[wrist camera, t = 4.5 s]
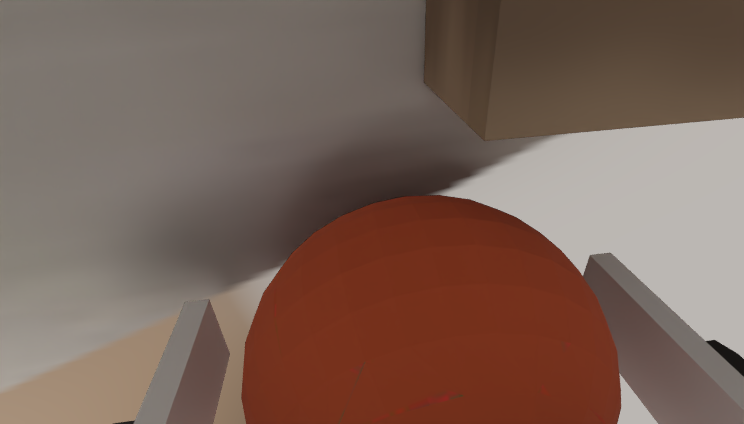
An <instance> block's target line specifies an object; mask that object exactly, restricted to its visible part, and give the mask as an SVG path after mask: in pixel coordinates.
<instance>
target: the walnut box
mask: <svg viewBox="0 0 744 424" xmlns="http://www.w3.org/2000/svg"><path fill="white" fill-rule="evenodd" d="M424 83H425V84H426V85H427V86H428V87H429V88H430V89H431V90H432V91H433V92H434V93H435V94H436V95H437V96H438V97H439V98H441V99H442V100H443V101H444V102H445V103H446V104H447V105H448V106H449V107H450V108H451V109H452V110H453V111H454V112H455V113H456V114H457V115H458V116H459V117H460V118H461V119H462V120H463V121H464V122H465V123H466V124H467V125H468V126H469V127H470V128H472V129H473V130H474V131H475V132H476V133H477V134H478V135H479V136H480V137H481V138H482V139H483V140H484V141H489V140H501V139H512V138H523V137H534V136H545V135H556V134H567V133H578V132H589V131H600V130H611V129H622V128H633V127H645V126H655V125H666V124H678V123H689V122H700V121H711V120H722V119H733V118H744V0H426V25H425V64H424Z"/></svg>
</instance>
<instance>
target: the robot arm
mask: <svg viewBox="0 0 744 424" xmlns="http://www.w3.org/2000/svg"><path fill="white" fill-rule="evenodd" d="M583 277H584V279H585V280H586V282H587V283H588V285H589V286H590V288H591V289H592V291H593V292H594V294H595V295H596V297H597V299H598V301H599V304H600V306H601V308H602V311H603V313H604V316H605V318H606V321H607V324H608V326H609V329H610V332H611V335H612V338H613V340H614V343H615V346H616V349H617V354H618V365H619V373H620V374H621V376H622V377H623V378H624V379H625V381H626V382H627V383H628V385H629V386H630V387H631V389H632V390H633V391H634V393H635V394H636V395H637V396H638V398H639V399H640V400H641V402H642V403H643V404H644V406H645V407H646V408H647V409H648V411H649V412H650V413H651V415H652V416H653V417H654V419H655V420H656V421H657V422H658V424H744V359H743V358H742V357H741V356H740V355H738V354H737V353H736V352H734V351H732V350H730V349H729V348H727V347H726V346H724V345H722V344H721V343H719V342H717V341H716V340H711V341H705V340H704V339H702V338H701V337H700V336H699V335H698V334H697V333H696V332H695V331H694V330H693V329H692V328H691V327H690V326H689V325H687V324H686V323H685V322H684V321H683V320H682V319H681V318H680V317H679V316H678V315H677V314H676V313H675V312H674V311H672V310H671V309H670V308H669V307H668V306H667V305H666V304H665V303H664V302H663V301H662V300H661V299H660V298H658V297H657V296H656V295H655V294H654V293H653V292H652V291H651V290H650V289H649V288H648V287H647V286H646V285H644V284H643V283H642V282H641V281H640V280H639V279H638V278H637V277H636V276H635V275H634V274H633V273H632V272H631V271H629V270H628V269H627V268H626V267H625V266H624V265H623V264H622V263H621V262H620V261H619V260H618V259H617V258H616V257H615V256H613V255H612V254H611V253H604V254H596V255H590V257H589V260H588V263H587V266H586V269H585V272H584V275H583ZM229 356H230V353H229V350H228V347H227V345H226V342H225V340H224V337H223V334H222V332H221V329H220V327H219V324H218V321H217V319H216V316H215V313H214V311H213V308H212V305H211V303H210V300H209V299H207V300H199V301H190V302H185V303H184V306H183V308H182V310H181V313H180V315H179V318H178V320H177V323H176V325H175V327H174V329H173V332H172V334H171V336H170V339H169V341H168V344H167V346H166V348H165V351H164V353H163V356H162V358H161V360H160V362H159V365H158V368H157V370H156V372H155V375H154V377H153V379H152V382H151V384H150V386H149V388H148V391H147V393H146V396H145V398H144V400H143V403H142V405H141V408H140V410H139V412H138V414H137V417H136V419H135V421H129V422H121V423H115V424H213V422H214V418H215V414H216V410H217V405H218V401H219V397H220V393H221V389H222V385H223V381H224V377H225V373H226V368H227V364H228V360H229Z"/></svg>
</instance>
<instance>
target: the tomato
mask: <svg viewBox="0 0 744 424" xmlns="http://www.w3.org/2000/svg"><path fill="white" fill-rule="evenodd" d="M619 377H620V376H619V365H618V354H617V349H616V346H615V343H614V340H613V338H612V335H611V332H610V329H609V326H608V324H607V321H606V318H605V316H604V313H603V311H602V308H601V306H600V304H599V301H598V299H597V297H596V295H595V294H594V292H593V291H592V289H591V288H590V286H589V285H588V283H587V282H586V280H585V279H584V277H583V276H582V275H581V273H580V272H579V270H578V269H577V268H576V267H575V266H574V265H573V263H572V262H571V261H570V260H569V259H568V258H567V257H566V255H565V254H564V253H563V252H562V251H561V250H560V249H559V248H557V247H556V246H555V245H554V244H553V243H552V242H551V241H549V240H548V239H547V238H546V237H545V236H543V235H542V234H541V233H540V232H538V231H537V230H535V229H534V228H532V227H530V226H529V225H527V224H526V223H524V222H523V221H521V220H520V219H518V218H516V217H514V216H512V215H509V214H507V213H505V212H502V211H500V210H498V209H495V208H492V207H489V206H486V205H484V204H481V203H478V202H475V201H472V200H469V199H462V198H455V197H448V196H441V195H430V196H406V197H399V198H395V199H390V200H385V201H381V202H376V203H372V204H370V205H367V206H365V207H362V208H360V209H357V210H355V211H352V212H350V213H347V214H345V215H343V216H341V217H339V218H337V219H336V220H334V221H332V222H331V223H329V224H328V225H326V226H324V227H323V228H321V229H320V230H318V231H316V232H315V233H313V234H312V235H311V236H310V237H309V238H308V239H307V240H306V241H305V242H304V243H303V244H301V245H300V246H299V247H298V248H297V249H296V250H295V251H294V252H293V253H292V254H291V255H290V257H289V258H288V259H287V261H286V262H285V263H284V265H283V266H282V267H281V269H280V270H279V271H278V273H277V274H276V276H275V277H274V279H273V280H272V281H271V283H270V284H269V286H268V287H267V289H266V290H265V291H264V293H263V296H262V298H261V301H260V303H259V306H258V309H257V311H256V314H255V316H254V319H253V322H252V325H251V328H250V331H249V334H248V336H247V339H246V342H245V355H244V368H243V383H242V403H243V409H244V414H245V419H246V424H617V422H618V418H619V414H620V410H621V388H620V378H619Z"/></svg>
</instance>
